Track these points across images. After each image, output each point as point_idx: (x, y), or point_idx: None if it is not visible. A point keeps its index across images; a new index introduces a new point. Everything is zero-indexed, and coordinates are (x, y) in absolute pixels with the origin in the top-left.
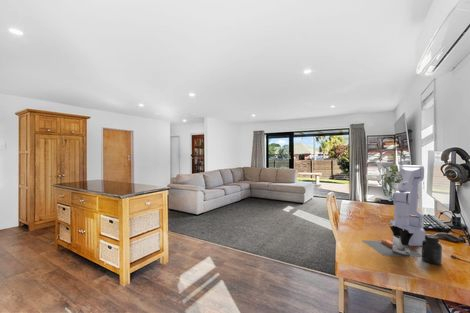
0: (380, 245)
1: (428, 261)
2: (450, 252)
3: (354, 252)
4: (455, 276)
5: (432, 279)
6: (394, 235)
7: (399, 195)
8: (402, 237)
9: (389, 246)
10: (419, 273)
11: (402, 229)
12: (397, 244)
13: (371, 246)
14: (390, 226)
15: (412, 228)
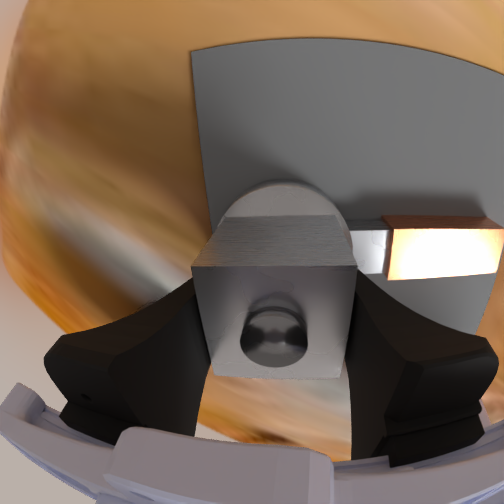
0: (439, 162)
1: (135, 312)
2: (321, 450)
3: None
4: (64, 315)
5: (7, 205)
6: (354, 290)
7: None
8: (152, 310)
9: (402, 218)
10: (27, 179)
11: (351, 454)
12: (245, 225)
13: (402, 56)
14: (487, 363)
15: (49, 472)
